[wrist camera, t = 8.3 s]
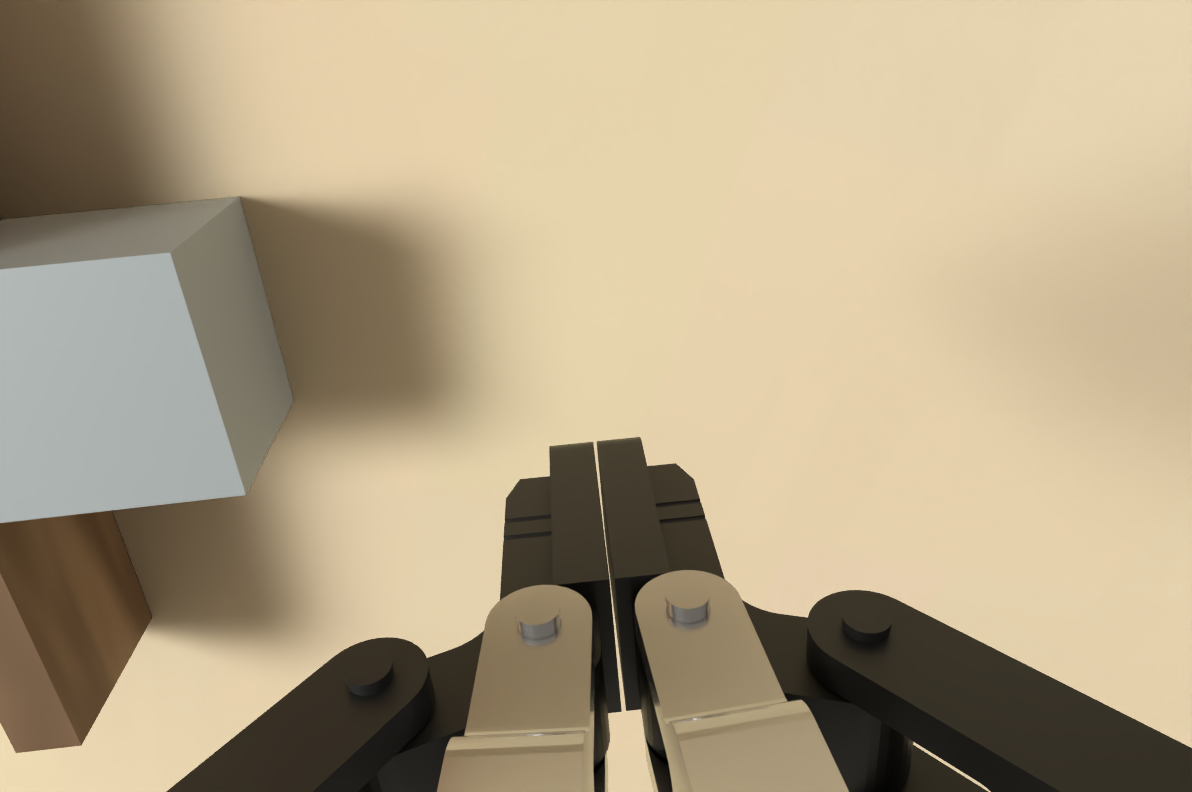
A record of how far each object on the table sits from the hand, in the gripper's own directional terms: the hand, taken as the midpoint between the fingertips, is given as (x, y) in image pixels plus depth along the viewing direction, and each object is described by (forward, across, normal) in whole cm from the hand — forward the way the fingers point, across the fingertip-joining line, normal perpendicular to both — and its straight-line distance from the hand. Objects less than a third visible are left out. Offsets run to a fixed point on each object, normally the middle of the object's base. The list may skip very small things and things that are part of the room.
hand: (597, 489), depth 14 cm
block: (+15, +13, +1) cm, 20 cm away
